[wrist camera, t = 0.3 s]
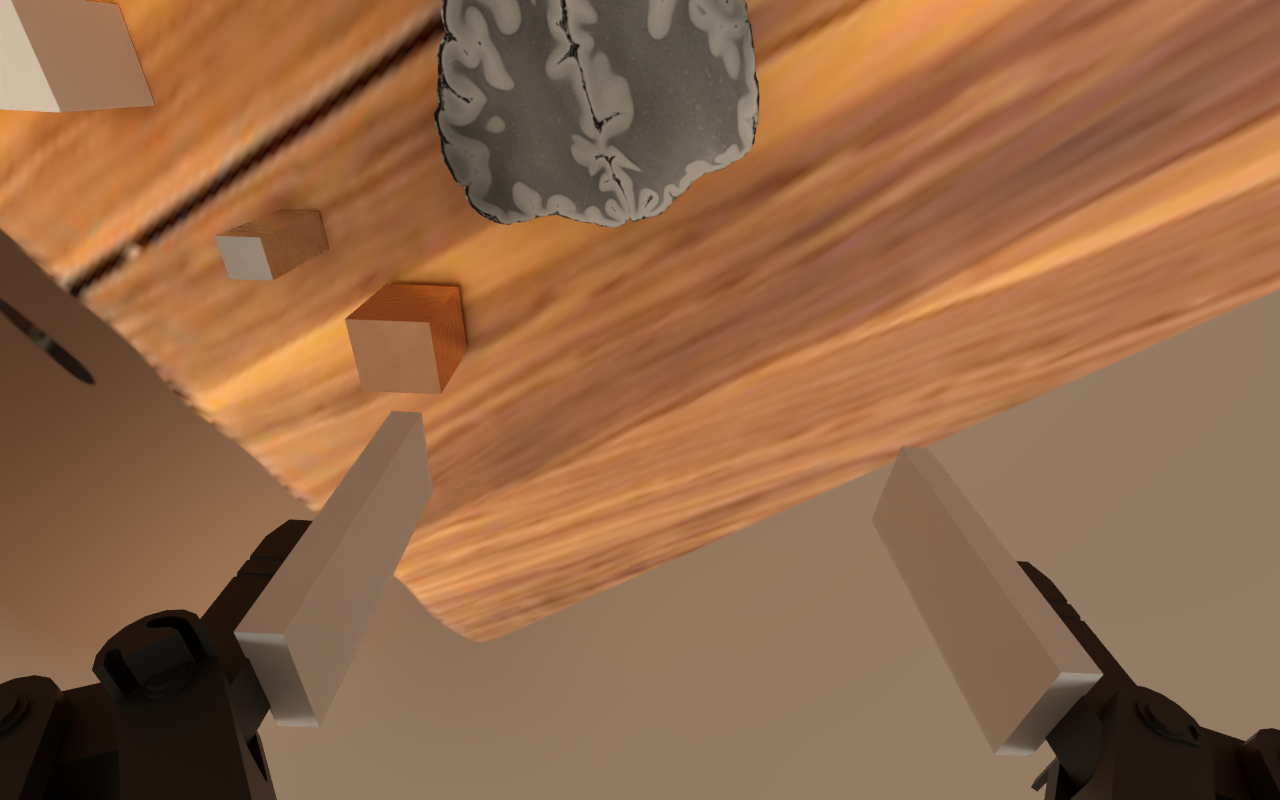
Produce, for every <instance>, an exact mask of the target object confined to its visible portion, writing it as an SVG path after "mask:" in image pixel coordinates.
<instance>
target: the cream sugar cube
mask: <svg viewBox="0 0 1280 800" xmlns="http://www.w3.org/2000/svg"><path fill="white" fill-rule="evenodd" d="M142 106H155V104H154V101H153V98H152V96H151V93H150V90H149V87H148V85H147V82H146V79H145V77H144V74H143V71H142V68H141V66H140V63H139V60H138V57H137V55H136V52H135V49H134V46H133V44H132V41H131V38H130V35H129V33H128V30H127V27H126V24H125V22H124V19H123V16H122V13H121V11H120V8H119V5H117V4H109V3H101V2H93V1H85V0H0V109H4V110H24V111H45V112H72V111H86V110H100V109H114V108H128V107H142Z"/></svg>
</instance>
